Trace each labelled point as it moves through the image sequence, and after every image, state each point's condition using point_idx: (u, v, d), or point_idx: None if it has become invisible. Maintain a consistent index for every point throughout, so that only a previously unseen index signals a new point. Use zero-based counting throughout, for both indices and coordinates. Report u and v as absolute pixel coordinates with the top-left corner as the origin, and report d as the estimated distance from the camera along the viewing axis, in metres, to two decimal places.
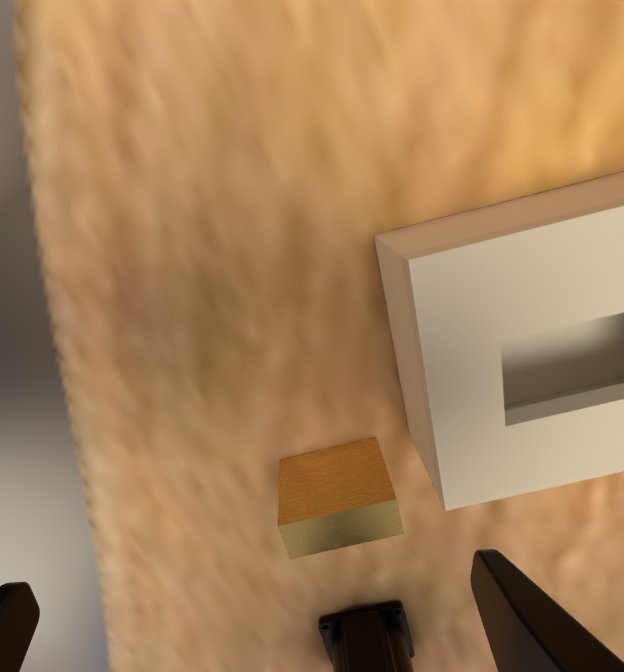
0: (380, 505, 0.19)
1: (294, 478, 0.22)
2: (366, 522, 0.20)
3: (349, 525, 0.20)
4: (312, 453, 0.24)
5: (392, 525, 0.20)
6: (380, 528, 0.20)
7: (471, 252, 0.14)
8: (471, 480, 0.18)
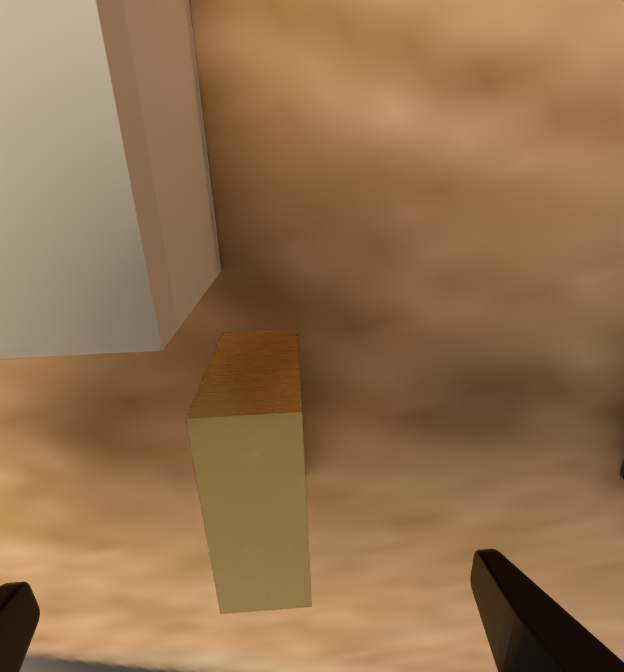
0: (198, 452, 0.08)
1: None
2: (245, 481, 0.09)
3: (246, 511, 0.09)
4: None
5: (268, 433, 0.08)
6: (271, 457, 0.09)
7: None
8: (45, 272, 0.06)
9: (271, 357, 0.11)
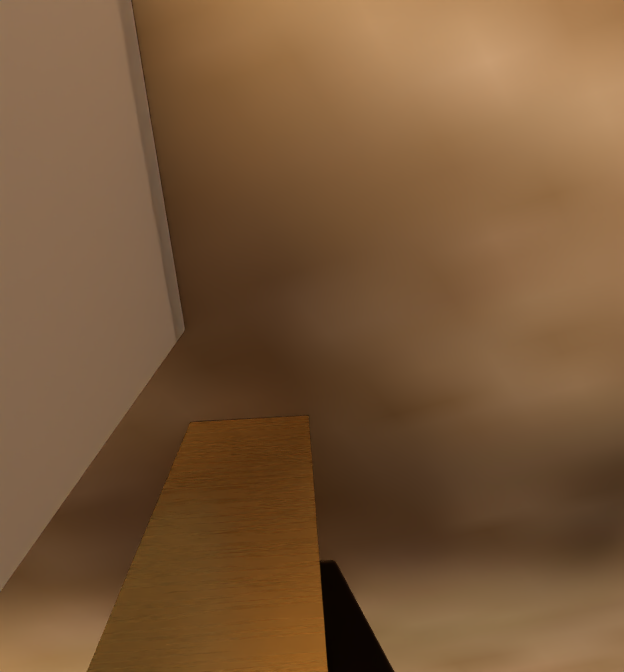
0: None
1: None
2: None
3: None
4: None
5: None
6: None
7: None
8: None
9: (264, 499, 0.06)
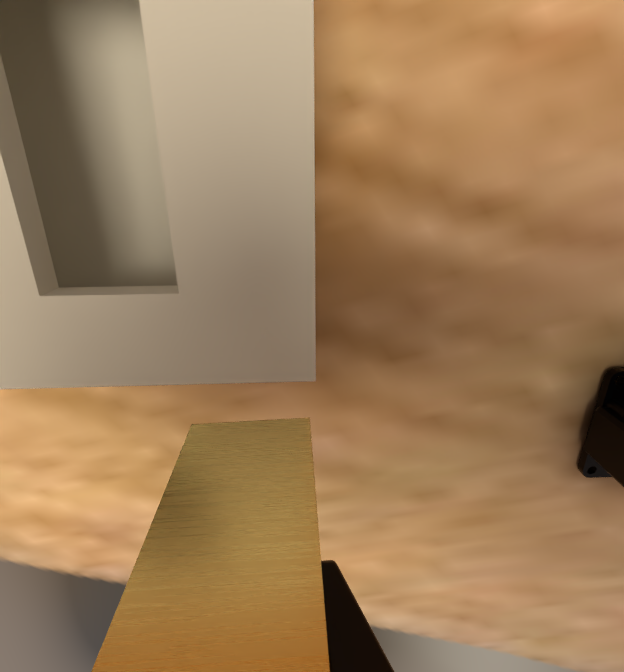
0: None
1: None
2: None
3: None
4: None
5: None
6: None
7: None
8: (268, 343, 0.12)
9: (266, 501, 0.06)
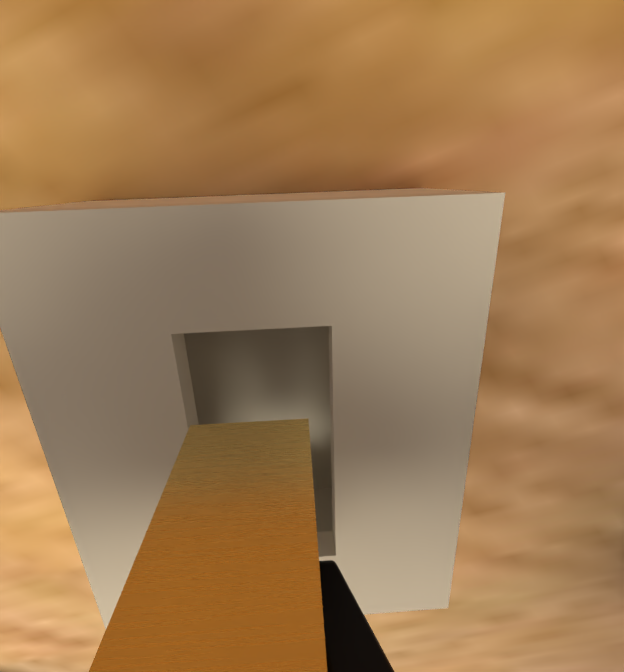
0: None
1: None
2: None
3: None
4: None
5: None
6: None
7: (101, 590, 0.13)
8: (409, 584, 0.14)
9: (264, 503, 0.06)
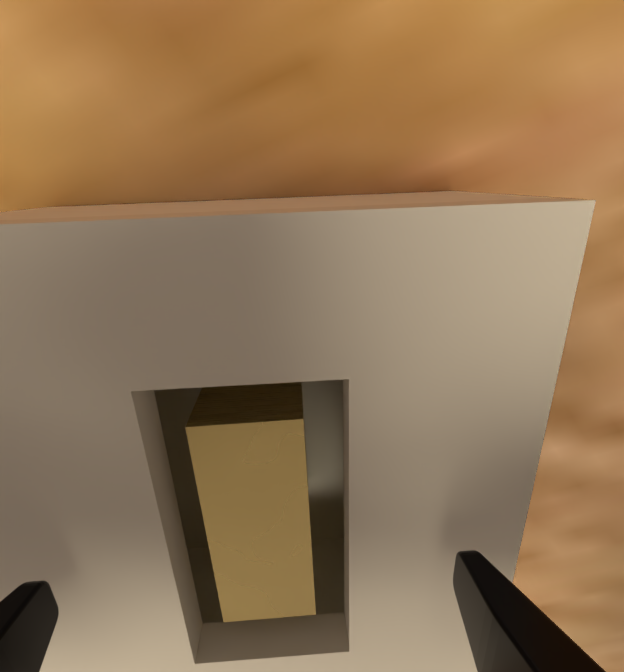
0: (199, 461, 0.08)
1: None
2: (246, 489, 0.09)
3: (247, 519, 0.09)
4: None
5: (269, 440, 0.08)
6: (272, 464, 0.08)
7: None
8: None
9: None
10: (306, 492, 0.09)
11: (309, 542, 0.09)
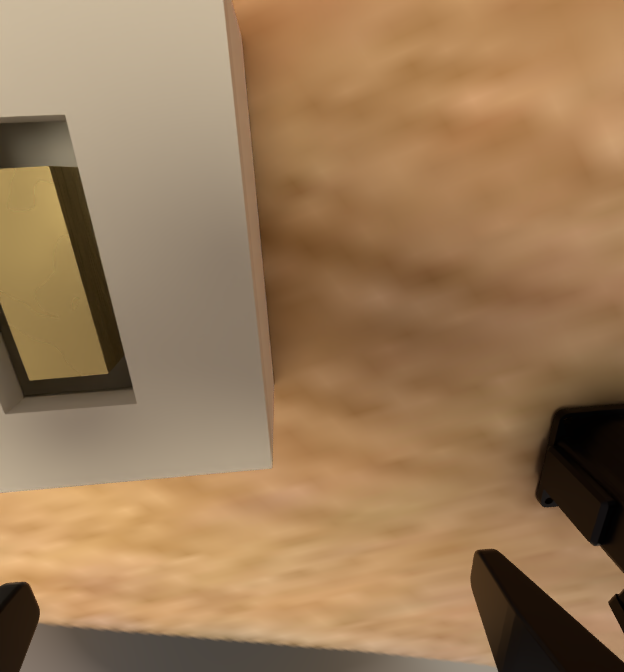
0: None
1: None
2: (17, 237, 0.11)
3: (25, 270, 0.11)
4: None
5: (25, 187, 0.10)
6: (33, 212, 0.10)
7: None
8: (224, 440, 0.13)
9: None
10: (70, 242, 0.11)
11: (83, 294, 0.11)
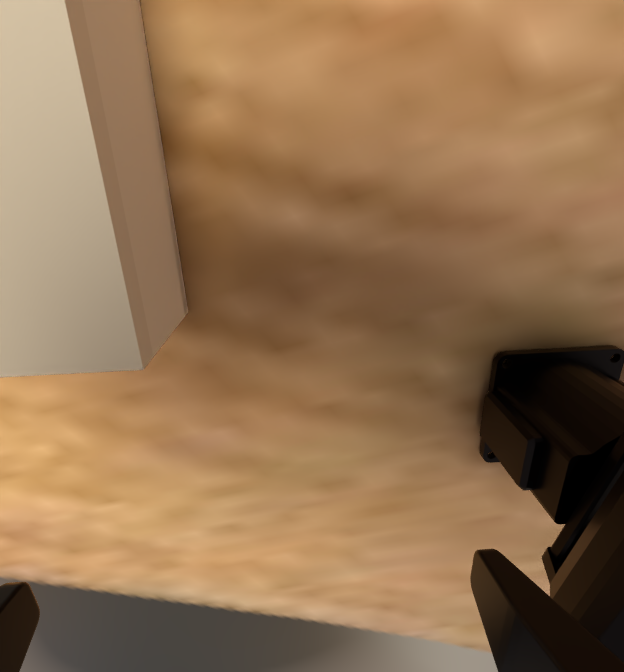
0: None
1: None
2: None
3: None
4: None
5: None
6: None
7: None
8: (86, 333, 0.12)
9: None
10: None
11: None
